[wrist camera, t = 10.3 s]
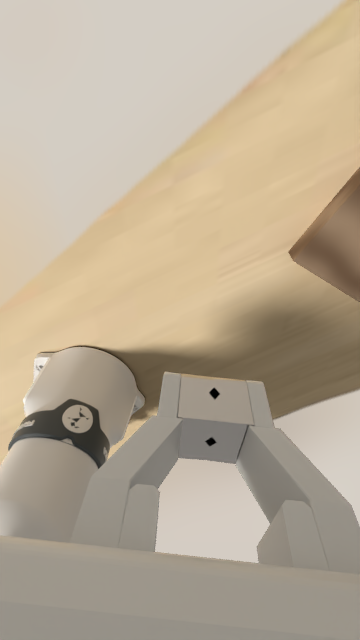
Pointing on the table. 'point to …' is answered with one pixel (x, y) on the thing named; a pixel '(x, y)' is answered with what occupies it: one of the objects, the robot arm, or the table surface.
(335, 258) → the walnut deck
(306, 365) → the table surface
